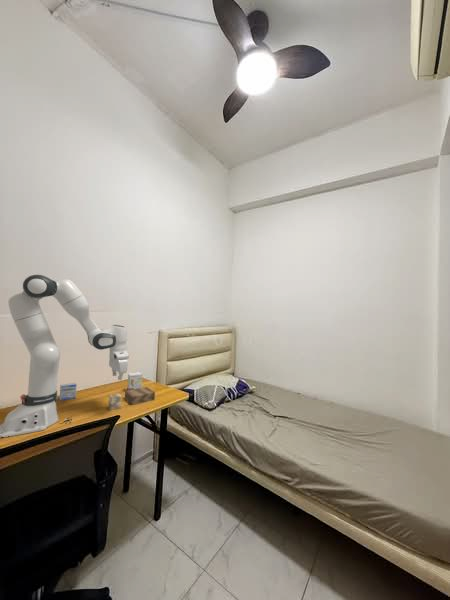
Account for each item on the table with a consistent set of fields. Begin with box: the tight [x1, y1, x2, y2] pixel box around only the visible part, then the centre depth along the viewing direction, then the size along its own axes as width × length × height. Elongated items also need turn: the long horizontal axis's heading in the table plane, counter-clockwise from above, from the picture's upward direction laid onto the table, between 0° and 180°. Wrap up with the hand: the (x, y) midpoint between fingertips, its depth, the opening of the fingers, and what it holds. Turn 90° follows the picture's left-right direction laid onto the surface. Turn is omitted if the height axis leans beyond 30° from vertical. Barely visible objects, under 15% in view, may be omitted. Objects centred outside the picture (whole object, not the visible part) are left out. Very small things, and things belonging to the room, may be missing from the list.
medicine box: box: [59, 382, 77, 402], centre depth 144 cm, size 8×4×9 cm, turn 131°
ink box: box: [126, 371, 143, 391], centre depth 161 cm, size 9×5×12 cm, turn 126°
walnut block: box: [124, 386, 156, 406], centre depth 147 cm, size 14×12×5 cm
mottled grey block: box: [108, 393, 122, 412], centre depth 134 cm, size 5×5×7 cm
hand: (117, 377), depth 134 cm, fingers open, 8 cm apart
